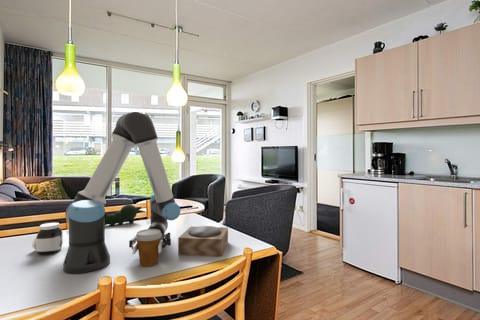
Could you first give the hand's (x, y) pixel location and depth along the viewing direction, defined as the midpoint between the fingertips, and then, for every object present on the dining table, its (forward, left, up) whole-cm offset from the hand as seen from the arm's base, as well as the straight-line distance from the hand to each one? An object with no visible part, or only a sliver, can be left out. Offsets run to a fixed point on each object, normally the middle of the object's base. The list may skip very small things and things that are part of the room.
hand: (146, 249), depth 98 cm
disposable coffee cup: (-1, +5, -7) cm, 8 cm away
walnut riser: (+16, +24, -7) cm, 29 cm away
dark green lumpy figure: (-44, +59, -7) cm, 75 cm away
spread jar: (-50, +13, -7) cm, 52 cm away
